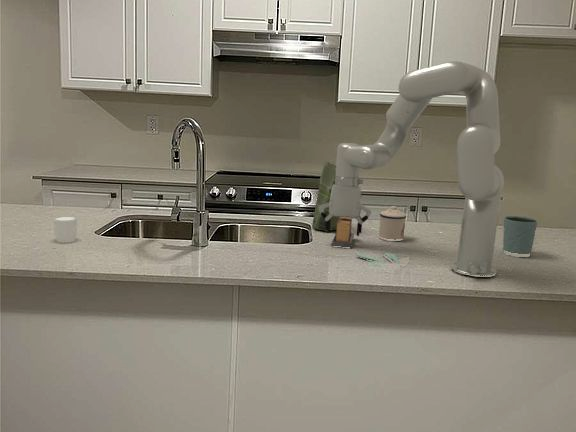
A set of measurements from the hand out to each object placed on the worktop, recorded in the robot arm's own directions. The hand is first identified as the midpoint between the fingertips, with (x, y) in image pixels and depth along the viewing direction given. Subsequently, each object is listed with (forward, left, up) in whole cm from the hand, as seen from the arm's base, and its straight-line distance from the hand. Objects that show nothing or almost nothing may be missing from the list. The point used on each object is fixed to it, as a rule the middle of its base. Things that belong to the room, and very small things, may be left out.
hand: (343, 233), depth 184 cm
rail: (+4, 0, -4) cm, 6 cm away
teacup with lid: (+18, -15, -4) cm, 24 cm away
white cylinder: (-26, +84, -4) cm, 87 cm away
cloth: (-13, -13, -5) cm, 19 cm away
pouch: (+21, +7, -4) cm, 23 cm away
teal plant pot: (+10, -56, -4) cm, 58 cm away
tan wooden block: (0, 0, -3) cm, 3 cm away
